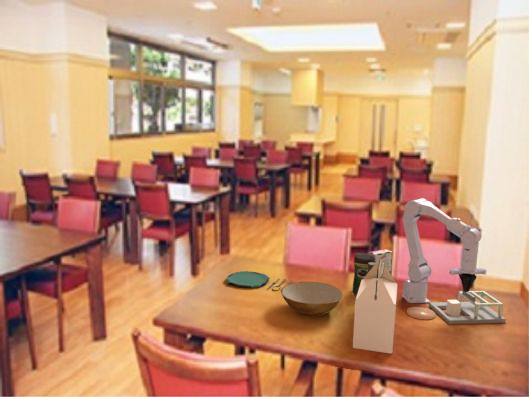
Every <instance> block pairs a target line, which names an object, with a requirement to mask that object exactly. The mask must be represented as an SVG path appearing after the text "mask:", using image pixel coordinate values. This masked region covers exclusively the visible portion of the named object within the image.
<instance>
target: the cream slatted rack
mask: <svg viewBox="0 0 529 397" xmlns="http://www.w3.org/2000/svg"><path fill="white" fill-rule="evenodd" d="M485 297H486V298H487V299H489V300H490V301H492V302H489V301H487V300H486V299H485ZM462 298H464V299H465V300H466V301H467V302H471V303H472V304H473V305H475V311H474V316H475V317H478V310H479V307H498V308H497V309H498V310H497V313H498V316H502V317H503V308H504V303H502V302H501V301H499V300H498V299H496V298H495V297H494V296H492V295H491V294H489V293H487V292H486V291H484V290H469V292H464V291H463V289H462V290H461V291H458V295H457V301H459V302H460V303H461V302H462ZM476 299H477V301H478V300H479V301H480V303H477V302H476Z"/></svg>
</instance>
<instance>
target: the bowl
mask: <svg viewBox="0 0 529 397" xmlns="http://www.w3.org/2000/svg"><path fill="white" fill-rule="evenodd" d="M287 284H288V283H287ZM280 291H281V292H280V293H281V296H282V298H283V299H284V301H285V303H287V305H288V306H289V307H290V308H291V309H292V310H294V311H295V312H296V313H299V314H301V315H303V316H307V317H319V316H322V315H325V314H327V313H329V312H331V311H333V310H334V309H335V308H336V307H338V305H339V304H340V303H341V301H342V299H343V297H344V292H343V290H341V289H340V288H339V287H336V286H335V285H332V284H329V283H324V282H318V281H299V282H292V283H291V284H288V285H286V284H285V286H282V288H280Z"/></svg>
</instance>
